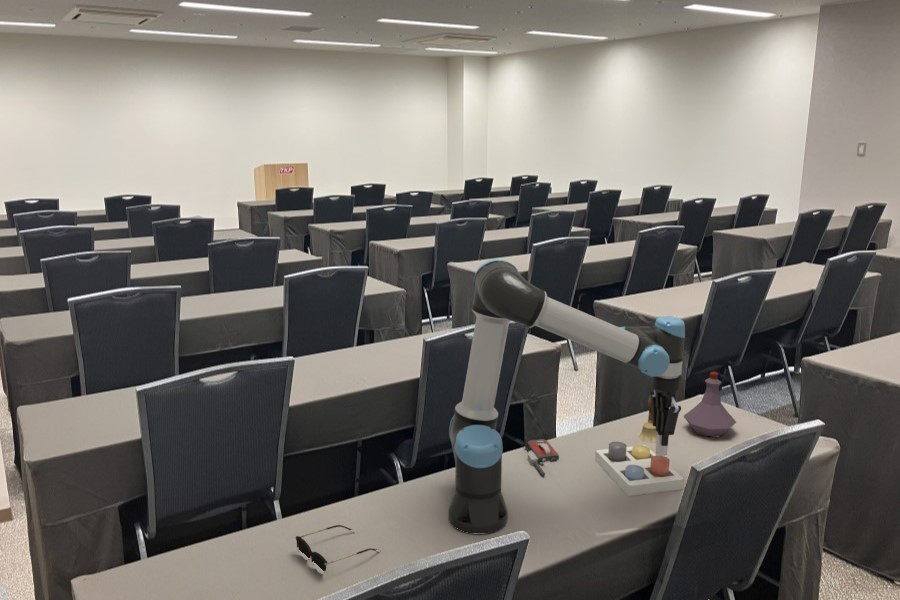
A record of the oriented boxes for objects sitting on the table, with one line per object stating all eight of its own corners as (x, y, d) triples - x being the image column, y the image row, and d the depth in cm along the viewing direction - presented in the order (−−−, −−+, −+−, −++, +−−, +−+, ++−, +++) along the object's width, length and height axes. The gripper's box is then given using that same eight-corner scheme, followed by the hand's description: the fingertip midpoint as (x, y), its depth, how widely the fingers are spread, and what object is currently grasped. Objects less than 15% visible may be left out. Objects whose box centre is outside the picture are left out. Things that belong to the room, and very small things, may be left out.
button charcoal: (612, 462, 216) (613, 449, 215) (605, 455, 221) (606, 442, 220) (628, 460, 217) (629, 448, 216) (621, 453, 222) (621, 440, 221)
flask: (734, 424, 251) (740, 367, 246) (736, 445, 235) (743, 385, 230) (682, 418, 255) (687, 362, 250) (681, 438, 240) (686, 379, 235)
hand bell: (631, 437, 241) (634, 390, 237) (653, 433, 244) (657, 387, 240) (645, 448, 234) (648, 399, 230) (668, 444, 236) (672, 396, 232)
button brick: (655, 477, 207) (656, 464, 206) (646, 469, 212) (647, 456, 211) (672, 475, 208) (673, 462, 207) (662, 467, 213) (664, 454, 212)
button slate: (629, 487, 206) (630, 474, 205) (621, 478, 211) (622, 465, 210) (646, 485, 207) (647, 472, 206) (638, 476, 212) (639, 463, 211)
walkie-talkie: (518, 448, 234) (540, 479, 215) (518, 435, 233) (540, 465, 214) (545, 446, 236) (569, 476, 217) (545, 433, 235) (569, 462, 216)
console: (628, 499, 203) (629, 485, 202) (594, 462, 224) (595, 450, 223) (682, 492, 207) (683, 479, 206) (644, 457, 228) (645, 444, 227)
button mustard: (636, 466, 218) (637, 453, 217) (628, 458, 223) (629, 446, 222) (652, 464, 219) (653, 451, 218) (644, 456, 224) (644, 444, 223)
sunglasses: (295, 554, 179) (295, 535, 178) (352, 534, 189) (353, 516, 188) (324, 581, 169) (325, 561, 168) (384, 559, 179) (384, 540, 178)
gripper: (692, 381, 198) (685, 463, 204) (667, 364, 210) (661, 443, 216) (666, 383, 196) (660, 466, 202) (642, 367, 208) (637, 445, 214)
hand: (661, 454), depth 209 cm, fingers closed
